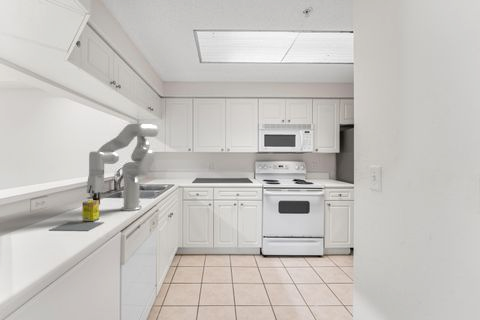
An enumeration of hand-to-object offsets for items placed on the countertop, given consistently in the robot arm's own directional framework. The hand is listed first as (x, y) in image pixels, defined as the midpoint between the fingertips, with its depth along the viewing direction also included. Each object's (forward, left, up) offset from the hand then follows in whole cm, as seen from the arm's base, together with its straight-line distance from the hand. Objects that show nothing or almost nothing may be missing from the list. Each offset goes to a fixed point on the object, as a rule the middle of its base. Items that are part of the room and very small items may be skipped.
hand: (96, 204), depth 141 cm
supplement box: (+5, 0, -8) cm, 10 cm away
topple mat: (+16, 0, -8) cm, 18 cm away
